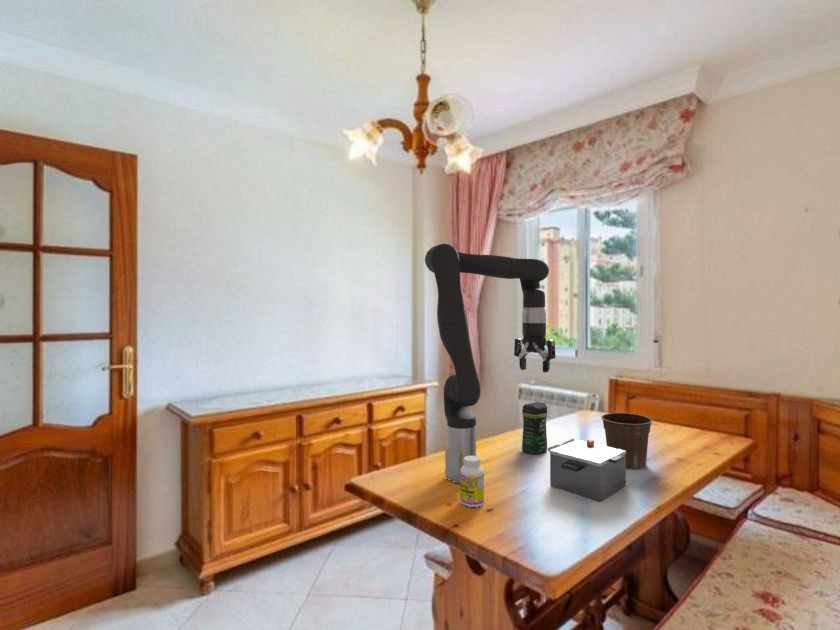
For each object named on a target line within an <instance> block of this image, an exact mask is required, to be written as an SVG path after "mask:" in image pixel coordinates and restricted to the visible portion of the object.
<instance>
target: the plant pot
mask: <svg viewBox="0 0 840 630" xmlns="http://www.w3.org/2000/svg"><path fill="white" fill-rule="evenodd" d="M600 417H601V420H602V423H603V429H604V432H605V440H606V441H605V442H606V446H607V447H612V448H616V449H621V450H625V451H626V470H627V469H628V470H640V469H643V468H645V467H646V466H647V458H648V448H649V447H648V446H649V435H650V432H651V427H652V426H651V425H652V423H653V419H652V418H650V417H649V416H645V415H642V414H638V413H637V414H636V413H629V412H609V413H604V414H602V415H601V416H600Z"/></svg>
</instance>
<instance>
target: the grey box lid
mask: <svg viewBox="0 0 840 630" xmlns="http://www.w3.org/2000/svg"><path fill="white" fill-rule="evenodd" d="M547 451H548V452H549V455H550V454H554V455H557V456H561V457H565V458H569V459H573V460H576V461H580V462H584V463H588V464H592V465H595V466H599V467H600V466H602V465H604V464H606V463H608V462H613V463H617V462H619V461H621V460H623V455H625V454H626V451H625V450H621V449H616V448H612V447H607V445H602V444H597V443H595V440H592V439H586V441H584V440H580V439H576V440H575V439H574V438H572V439H569V440H566V441H564V442H560V443H558V444H555V445H552V446H550V447H547Z"/></svg>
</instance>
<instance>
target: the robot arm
mask: <svg viewBox="0 0 840 630" xmlns="http://www.w3.org/2000/svg"><path fill="white" fill-rule="evenodd" d="M424 262H425V265H426V268H427V270H428V271H430V272H432V273H433V274H434V277H435V281H436V287H437V294H438V295H437V308H436V309H437V310H436V315H437V316H436V318H437V326H438V330H439V331H438V332H439V336H440V337H439V338H440V339H441V342H442V344H443V346H444V349H445V350H446V353H448V356H449V357H450V359H451V361H452V362H451V363H453V369H454V372H455V373H454V374H451V375H450V376H449V377H448V378H446V380H445V383H444V386H443V405H444V406H443V407H444V416H445V418H446V422H447V425H446V427H447V428H446V433H447V436H446V439H447V444H446V445H447V446H446V447H447V448H446V449H445V452H444V455H445V457H444V458H445V459H444V460H445V461H444V465H445V467H444V468H445V470H444V474H445V478H447V479H450V480H452V481H455V482H457V483H456V484H458V483H460V470H461V468H462V466H464V465H465V464H464V457H466V456H477V418H476V416H475V415H474V413H473V412H472V411H471V410H470V408H469V407H474V406H475V405H476V404H477V403H478V402H479V400H480V397H481V392H482V391H481V383H480V380H479V375H478V372H477V368H476V365H475V360H474V355H473V351H472V350H473V349H472V345H471V339H470V330H469V324H468V316H467V313H466V308H465V306H466V305H465V302H464V296H463V291H462V285H461V273H462V274H472V275H478V276H485V277H491V278H498V279H504V280H513V279H514V280H516V279H519V282H520V287H521V291H522V315H521V316H522V322H521V323H522V324H521V325H522V327H521V329H522V330H521V331H522V337H523V338H515V339H514V351H513V352H514V353H513V355H514V357H517V358H519V360H518V361H519V362H518V363H519V369H520V371H521V370H522V371H525V370H527V358H526V357H527V356H528V354H530V353H534V354H535V353H536V354H538V355H539V356H541V357H540V358H542V359H543V360H542V372H543V373H545V374H546V373H549V371H550V369H551V368H550V361H551V360H554V359H556V357H557V356H556V342H555V340H554V339H549V340H548V339H547V338H546V335H547V313H546V311H547V310H546V294H545V291H544V290H542V288H541V285H540V282H542V281H544V280H545V279H546V278H547V277H548V276H549V273H550V268H549V265H548V264H547V263H546V262H545V261H543V260H542V259H538V258H519V257H518V258H517V257H510V256H506V255H495V254H473V253H465V252H460V251H457V249H456V248H455V247H454V246H453V245H451V244H449V243H440V244H437V245H435V246H432V247H430V248H429V249H428V250H427V251H426V253H425V257H424ZM522 346H523V347H522ZM546 347H547V348H546ZM447 479H446V480H447ZM450 480H449V481H450ZM452 481H451V482H452ZM455 482H454V483H455Z"/></svg>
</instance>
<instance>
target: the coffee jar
mask: <svg viewBox="0 0 840 630" xmlns="http://www.w3.org/2000/svg"><path fill="white" fill-rule="evenodd" d="M521 412H522V414H521V415H522V420H523V423H522V424H523V426H522V440H521V442H522V444H521V450H522V451H523V452H525V454H530V455H531V454H535V455H539V454H542V453H545V452H547V451H548V438H547V437H548V436H547V435H548V434H547V417H548V405H547V404H546V403H545V402H542V401H541V402H539V401H535V402H530V403H526V404H524V405H523V406H522V411H521Z"/></svg>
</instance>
